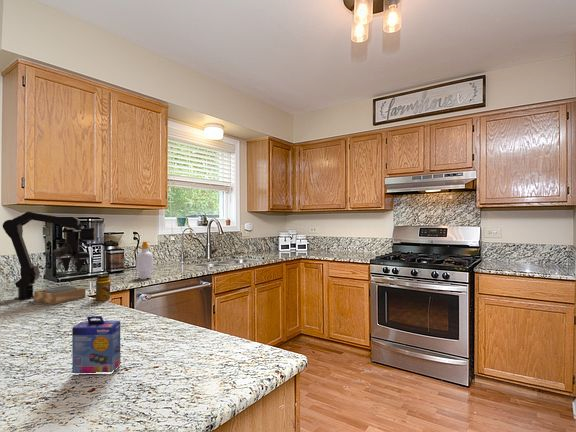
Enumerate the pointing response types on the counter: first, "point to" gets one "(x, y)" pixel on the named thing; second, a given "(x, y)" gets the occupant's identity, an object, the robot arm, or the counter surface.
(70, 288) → the small crate
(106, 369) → the ink cartridge box
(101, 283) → the condiment
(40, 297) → the big crate
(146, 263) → the soap bottle
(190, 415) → the counter surface
